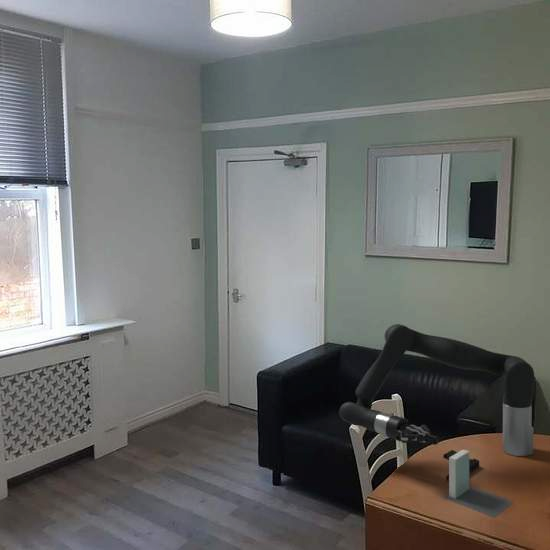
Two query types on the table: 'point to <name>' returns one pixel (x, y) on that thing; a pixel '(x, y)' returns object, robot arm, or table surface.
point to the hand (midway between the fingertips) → (437, 441)
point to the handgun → (472, 462)
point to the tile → (458, 473)
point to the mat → (481, 501)
